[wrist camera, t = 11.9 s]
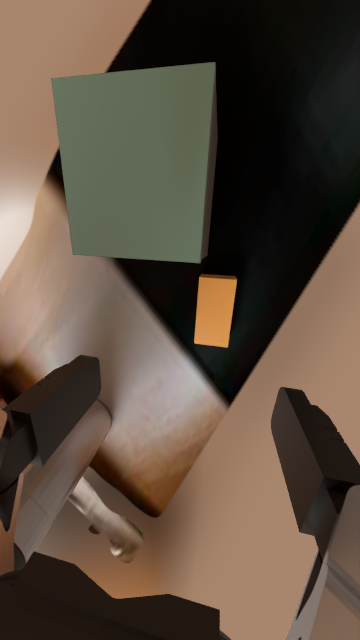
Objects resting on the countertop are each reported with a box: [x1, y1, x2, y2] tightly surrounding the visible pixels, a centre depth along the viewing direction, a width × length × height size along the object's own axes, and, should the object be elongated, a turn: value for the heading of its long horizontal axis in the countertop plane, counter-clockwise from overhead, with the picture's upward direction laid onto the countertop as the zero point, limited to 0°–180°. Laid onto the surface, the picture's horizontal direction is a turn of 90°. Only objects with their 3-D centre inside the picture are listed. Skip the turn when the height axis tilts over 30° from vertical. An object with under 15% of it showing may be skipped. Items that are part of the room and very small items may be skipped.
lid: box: [51, 62, 216, 263], centre depth 16 cm, size 11×11×1 cm
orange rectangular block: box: [194, 274, 237, 347], centre depth 25 cm, size 8×4×3 cm, turn 177°
